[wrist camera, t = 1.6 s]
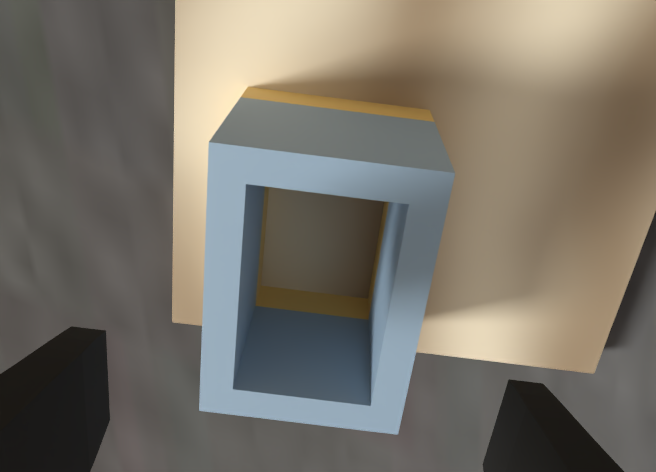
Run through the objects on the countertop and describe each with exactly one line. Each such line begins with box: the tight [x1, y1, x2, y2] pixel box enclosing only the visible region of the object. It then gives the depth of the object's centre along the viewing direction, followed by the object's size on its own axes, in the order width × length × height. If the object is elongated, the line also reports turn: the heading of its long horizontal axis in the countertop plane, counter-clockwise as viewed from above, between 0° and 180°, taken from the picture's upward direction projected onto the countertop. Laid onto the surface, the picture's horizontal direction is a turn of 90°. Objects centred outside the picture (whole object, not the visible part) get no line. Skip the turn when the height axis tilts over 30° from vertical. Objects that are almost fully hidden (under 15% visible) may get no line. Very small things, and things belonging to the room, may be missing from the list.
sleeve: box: [199, 87, 455, 435], centre depth 16 cm, size 5×7×5 cm
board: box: [172, 0, 656, 374], centre depth 15 cm, size 14×20×5 cm
